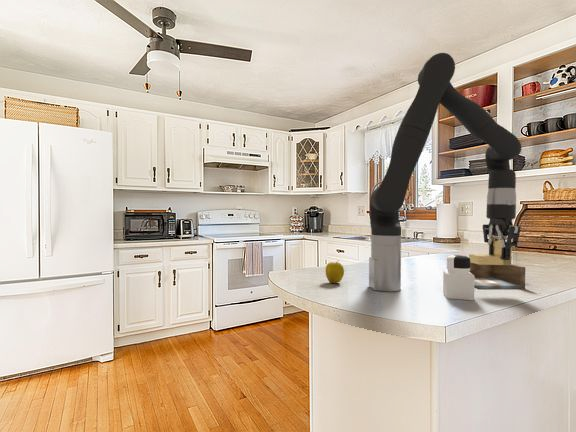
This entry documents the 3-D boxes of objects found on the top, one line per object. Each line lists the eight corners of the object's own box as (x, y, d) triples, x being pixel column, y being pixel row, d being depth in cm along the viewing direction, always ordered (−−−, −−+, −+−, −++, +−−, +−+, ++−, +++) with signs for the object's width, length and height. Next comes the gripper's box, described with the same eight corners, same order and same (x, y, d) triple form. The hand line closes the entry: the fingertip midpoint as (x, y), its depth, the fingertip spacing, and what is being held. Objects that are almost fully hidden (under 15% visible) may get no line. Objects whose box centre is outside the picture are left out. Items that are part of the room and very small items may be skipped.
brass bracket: (478, 264, 96) (479, 241, 96) (468, 261, 101) (469, 239, 101) (511, 265, 97) (512, 242, 96) (499, 262, 102) (500, 240, 101)
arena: (476, 288, 104) (477, 267, 104) (451, 279, 119) (452, 260, 119) (525, 288, 104) (525, 267, 104) (494, 279, 119) (494, 260, 119)
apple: (345, 285, 107) (345, 261, 107) (326, 285, 107) (326, 261, 107) (342, 281, 114) (342, 258, 114) (324, 281, 114) (324, 258, 114)
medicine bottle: (469, 294, 96) (469, 254, 96) (474, 301, 89) (475, 258, 89) (442, 292, 98) (443, 253, 98) (446, 298, 91) (446, 256, 91)
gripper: (474, 203, 106) (473, 255, 106) (505, 202, 91) (503, 261, 92) (497, 204, 106) (495, 255, 106) (531, 203, 92) (529, 262, 92)
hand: (499, 258), depth 99 cm, fingers closed on brass bracket, 5 cm apart
